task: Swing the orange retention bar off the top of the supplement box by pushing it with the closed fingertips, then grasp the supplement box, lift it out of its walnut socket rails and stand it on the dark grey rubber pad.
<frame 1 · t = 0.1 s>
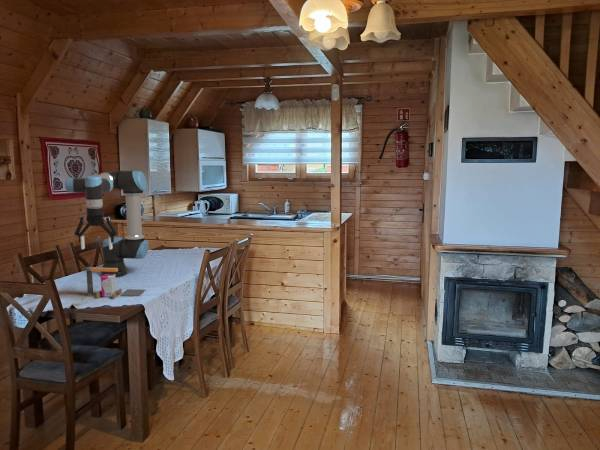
hand: (97, 248, 228), 28 cm above the table, fingers open, 13 cm apart
clip: (101, 269, 239), point 15 cm above the table, hinge at 0.0°
pad: (133, 293, 246), on the table
socket: (109, 295, 241), on the table
supplement box: (109, 296, 241), on the table
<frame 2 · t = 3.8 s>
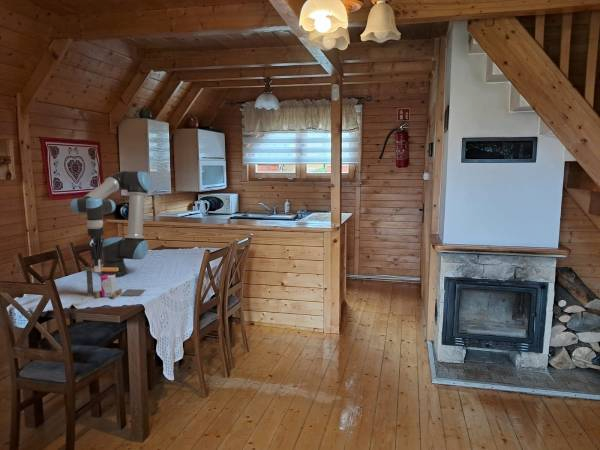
hand: (97, 271, 238), 14 cm above the table, fingers closed
clip: (101, 269, 239), point 15 cm above the table, hinge at 3.5°, touching gripper
everything else where it was.
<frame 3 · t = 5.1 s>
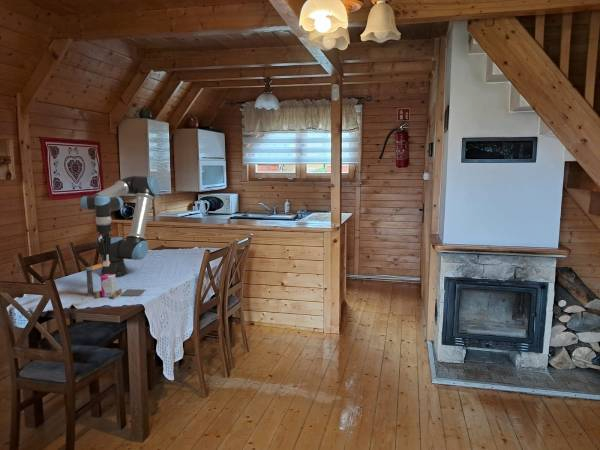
hand: (106, 266, 248), 14 cm above the table, fingers closed
clip: (98, 265, 245), point 15 cm above the table, hinge at 73.5°, touching gripper
everything else where it was.
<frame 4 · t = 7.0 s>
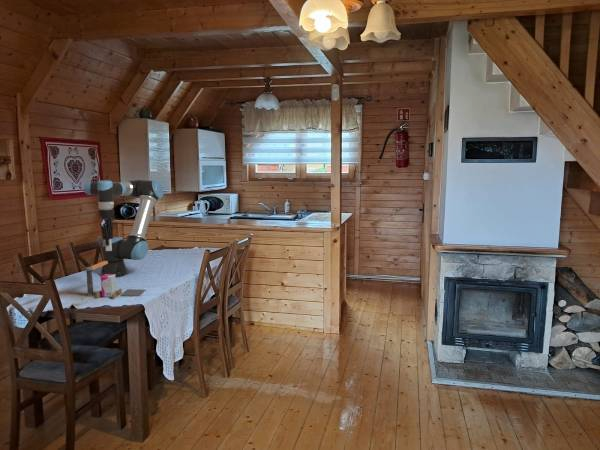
hand: (108, 250, 251), 22 cm above the table, fingers closed
clip: (96, 265, 245), point 15 cm above the table, hinge at 80.0°
everything else where it was.
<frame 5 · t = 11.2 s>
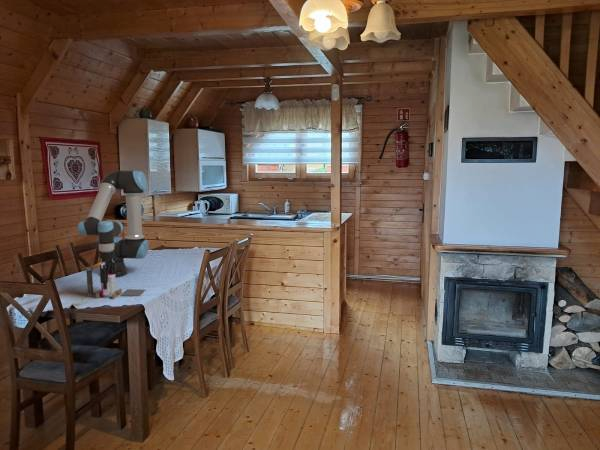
hand: (108, 292, 241), 2 cm above the table, fingers closed on supplement box, 6 cm apart
supplement box: (109, 296, 241), on the table, touching gripper
everything else where it was.
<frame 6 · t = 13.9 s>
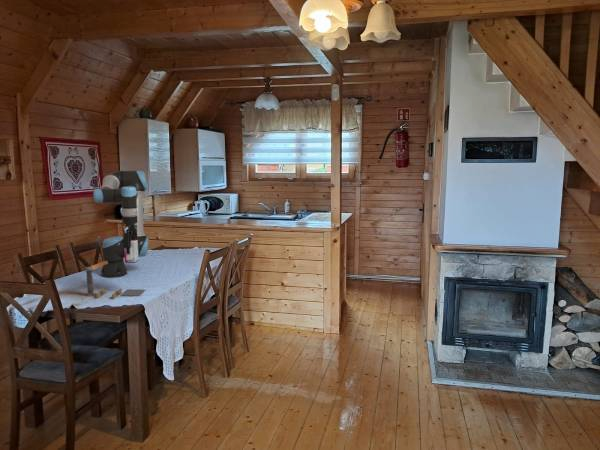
hand: (131, 258, 243), 20 cm above the table, fingers closed on supplement box, 6 cm apart
supplement box: (131, 261, 243), point 18 cm above the table, touching gripper
everything else where it was.
when the fingers open (4 cm above the table, at t = 17.0 s): supplement box drops 1 cm, resting on pad.
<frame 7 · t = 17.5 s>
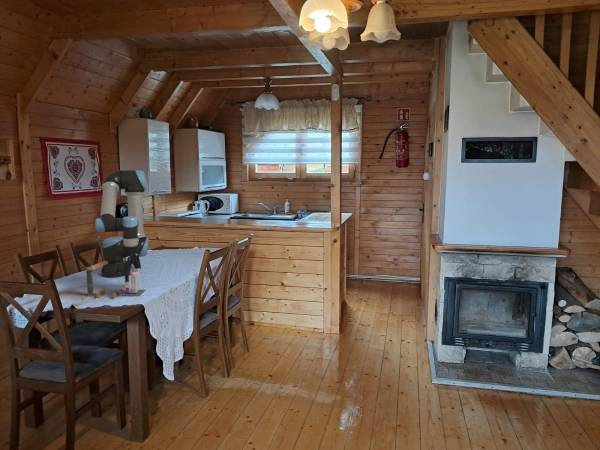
hand: (132, 283, 245), 6 cm above the table, fingers open, 12 cm apart
supplement box: (133, 292, 246), resting on pad
everything else where it was.
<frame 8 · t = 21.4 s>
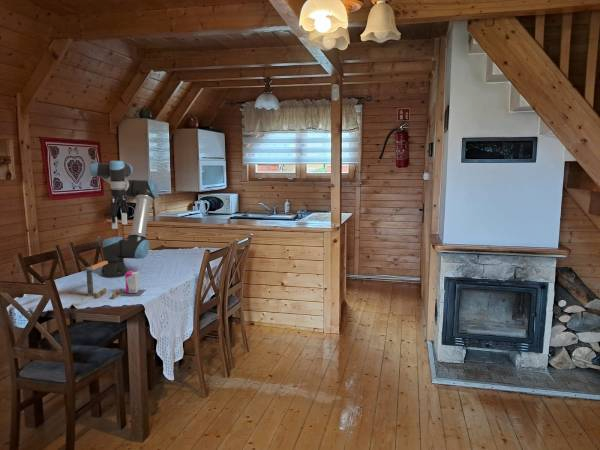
hand: (119, 226, 253), 35 cm above the table, fingers open, 13 cm apart
nothing on the table moved.
at the end: supplement box inside the target area on the pad (0.2 cm from its centre), point 0.4 cm above the pad's base; supplement box tilted 0°; clip at +80° (first picture: +0°) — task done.
